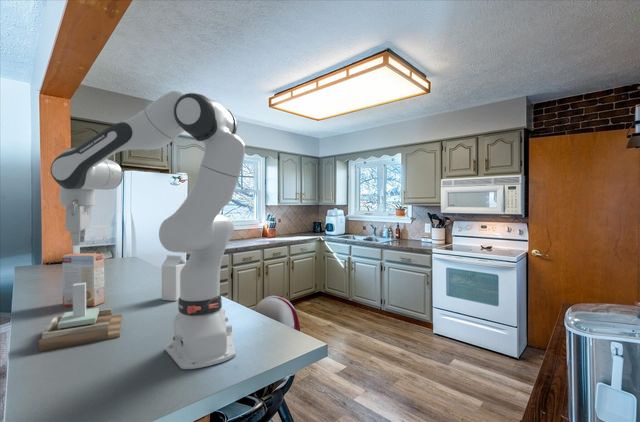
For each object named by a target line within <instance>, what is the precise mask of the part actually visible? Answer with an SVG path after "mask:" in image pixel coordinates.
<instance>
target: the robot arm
mask: <svg viewBox="0 0 640 422" xmlns="http://www.w3.org/2000/svg"><path fill="white" fill-rule="evenodd" d="M237 130H238V123H237V119H236V117H235V116H234V115H233V113H232V112H231V111H230V110H229V109H227V108H225V107H224V106H223V105H221V104H220V103H219V102H218V101H216V100H213V99H211V98H209V97H208V96H205V95H203V94H199V93H195V92H194V93H193V92H191V93H189V92H188V93H183V92H180V91H177V90H173V91H169V92H167V93H164V94H163V95H162V96H160V97H158V98H156V99H155V100H154V101H152V102H151V103H150V104H148V105H147V106H146V107H144V109H142V110H141V111H139V112H138V113H136V114H135V115H133V116H131V117H129V118H127V119H125V120H122V121H120V122H117V123H114V124H112V125H110V126H109V127H107V128H105V129H104V130H102V131H100V132H99V133H97V134H96V135H94V136H92V137H91V138H90V139H88V140H86V141H85V142H83V143H82V144H81V145H79V146H78V147H70V148H69V147H68V148H65V149H64V150H63V151H62V152H61V154H59V155H57V157H55V158H54V160H53V161H52V163H51V166H50V174H51V176H52V179H53V180H54V181H55V183H57V184H58V185H59V187H60V188H59V206H64V208H65V217H64V218H65V231H66V232H70V237H71V245H72V246H73V247H74V246H80V245H81V243H84V242H85V241H86V240H85V239H86V230H87V228H89V227H90V224H91V217H92V207H93V206H96V190H102V191H103V190H108V191H109V190H113V189H114V190H115V189H117V188H118V187H119V185H121V183H122V181H123V178H124V177H123V175H124V174H123V169H122V167H121V165H120V164H119V163H118V162H117V161H114V160H112V159H109V158H110V157H111V156H113V155H115V154H117V153H120V152H125V151H133V150H134V151H135V150H136V151H137V150H142V151H143V150H145V151H147V150H149V151H150V150H153V151H155V150H159V149H161V148H163V147H166V146H167V145H169V144H171V143H172V142H173V141H174V140H176V138H178V137H179V136H180V135H181V134H182V133H184V132H186V133H187V134H189V135H190V136H191V137H192V138H194V139H195V140H196V141H198V142H203V145H204V154H203V157H202V160H201V163H200V164H199V168H198V172H197V175H196V178H195V181H194V183H193V186H192V188H191V190H190V192H189V194H188V196H187V197H186V198H185V199H184V201H183V203H182V204H181V205H180V206H179V207H178V209H176V211H175V212H174V213H173V214H171V215H170V216H168V217H167V218H166V219H164V220H163V221H162V223H161V224H160V226H159V229H158V238H159V242H160V243H161V246H162V247H163V248H164V249H165V250H166V251H169V252H172V253H181V254H188V253H190V255H189V257H188V260H187V262H185V263H186V264H185V266H184V267H183V268H182V270H181V272H180V297H179V300H178V302H177V307H178V313H177V315H175V316H174V317H173V319H172V335H171V336H172V337H171V339H172V340H171V342H169V343H168V344H166V345H165V347H164V348H165V351H166V353H168V355H169V356H170V357H171V358H172V360H173V361H174V362H175V363H176V364H177V365H178V367H179V368H180V369H182V370H193V369H200V368H206V367H209V366H213V365H217V364H220V363H223V362H226V361H228V360H231V359H232V358H234V357H235V356H236V350H235V349H236V347H235V343H234V337H233V326H232V325H233V324H226V323H227V322H229V317H228V316H226V311H225V309H224V308H223V307H222V306H223V305H222V303H223V302H222V301H223V299H222V294H221V293H220V287H221V285H220V282H221V281H220V280H221V278H220V277H221V267H222V262H223V259H224V254H225V251H226V247H228V243H229V242H230V240H231V239H232V238H233V235H234V233H235V232H234V231H235V226H234V223H233V220H232V219H231V218H230V217H228V216H227V215H225V214H222V213H220V212H221V211H222V209H224V208H225V207H226V206H227V205H228V204H229V203H230V202H231V201H232V198H233V195H234V192H235V190H236V186H237V183H238V181H239V178H240V174H241V172H242V169H243V164H244V159H245V152H246V144H245V143H244V141H243V139H241V137H239V136H238V135H236V133H237V132H238V131H237Z"/></svg>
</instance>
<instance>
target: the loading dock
mask: <svg viewBox="0 0 640 422" xmlns="http://www.w3.org/2000/svg"><path fill="white" fill-rule="evenodd" d="M112 311H113V310H112V308H106V309H99V314H98V317H97V320H96V323H94V325H90V326H88V324H85V325H79V326H72V327H68V329H65V330H61V328H60V329H58V323H59V321H60V320H61V318H62V317H63V315H64V314H63V315H56V316H54V317H53V318H52V319H51V321H50V323H49V324H48V325H47V326H46V328H45V330H44V331H43V332H42V333H41V338H40V339H39V340H38V352H39V353H40V352H45V351H51V350H57V349H62V348H63V349H64V348H67V347H72V346H77V345H78V346H79V345H84V344H88V343H95V342H101V341H105V340H110V339H116V338H120V336H121V331H122V329H121V328H122V320H123V315H122V314H116V315H113V314H112V313H113V312H112Z"/></svg>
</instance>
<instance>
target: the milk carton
mask: <svg viewBox="0 0 640 422" xmlns="http://www.w3.org/2000/svg"><path fill="white" fill-rule="evenodd" d="M186 263H187V262H186V261H185V260H184V259H183V258H182V255H171V254H168V255H166V259H165V260H164V261H163V262H162V264H161V301H172V302H176V301H179V297H180V272H181V270H182V268H183V267H184V266H185V264H186Z"/></svg>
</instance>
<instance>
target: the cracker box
mask: <svg viewBox="0 0 640 422" xmlns="http://www.w3.org/2000/svg"><path fill="white" fill-rule="evenodd" d="M61 256H62V259H61V261H62V262H61V263H62V265H61V266H62V271H61V273H62V274H61V275H62V306H63V307H65V306H66V307H67V306H68V307H69V306H70V307H73V285H74V284H75V283H85V282H86V307H95V306H98V305H102V304H104V303H105V254H104V253H87V252H86V253H85V252H84V253H83V252H81V253H80V252H79V253H77V252H76V253H68V254H64V255H61Z"/></svg>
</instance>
